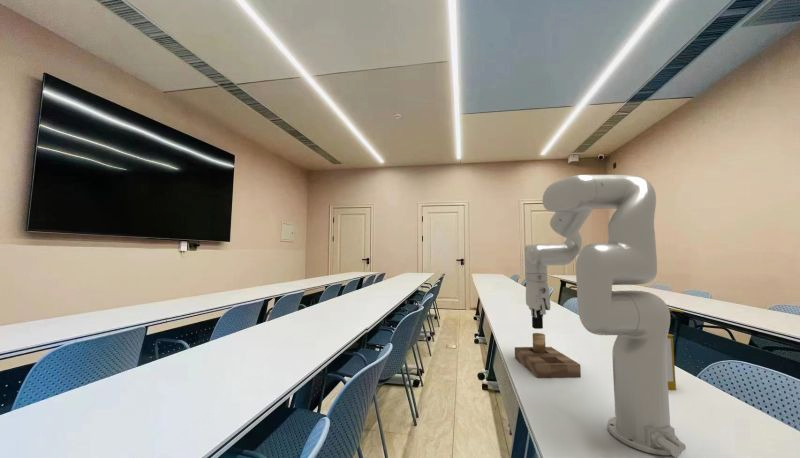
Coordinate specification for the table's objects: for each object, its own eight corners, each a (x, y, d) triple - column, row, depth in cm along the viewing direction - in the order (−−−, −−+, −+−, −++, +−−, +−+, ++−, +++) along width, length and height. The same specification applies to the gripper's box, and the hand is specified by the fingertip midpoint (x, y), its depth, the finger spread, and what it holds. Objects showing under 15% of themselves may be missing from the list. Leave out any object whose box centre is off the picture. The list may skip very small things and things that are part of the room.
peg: (548, 364, 108) (547, 336, 109) (536, 364, 108) (535, 336, 109) (542, 360, 113) (541, 332, 113) (531, 360, 113) (530, 332, 113)
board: (580, 377, 98) (580, 364, 98) (537, 378, 97) (537, 365, 97) (551, 357, 116) (550, 346, 116) (514, 358, 115) (514, 347, 115)
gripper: (557, 280, 106) (558, 333, 105) (536, 275, 121) (537, 323, 119) (535, 280, 105) (537, 334, 104) (517, 276, 120) (518, 323, 119)
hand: (537, 328), depth 112 cm, fingers closed
